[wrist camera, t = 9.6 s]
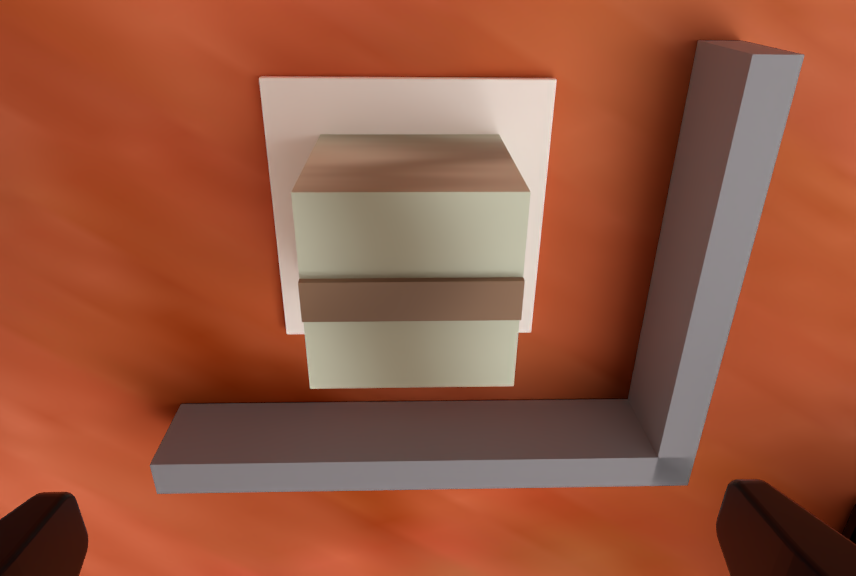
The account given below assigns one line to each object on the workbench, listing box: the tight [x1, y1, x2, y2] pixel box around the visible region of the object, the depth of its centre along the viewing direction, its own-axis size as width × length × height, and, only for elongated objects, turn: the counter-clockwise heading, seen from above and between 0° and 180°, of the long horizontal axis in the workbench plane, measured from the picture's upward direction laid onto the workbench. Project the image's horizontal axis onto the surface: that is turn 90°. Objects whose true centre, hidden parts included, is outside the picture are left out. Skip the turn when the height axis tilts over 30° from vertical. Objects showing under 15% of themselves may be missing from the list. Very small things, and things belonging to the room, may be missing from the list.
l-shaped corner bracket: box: [150, 40, 804, 494], centre depth 18 cm, size 17×13×3 cm
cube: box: [291, 134, 531, 389], centre depth 16 cm, size 5×5×5 cm
